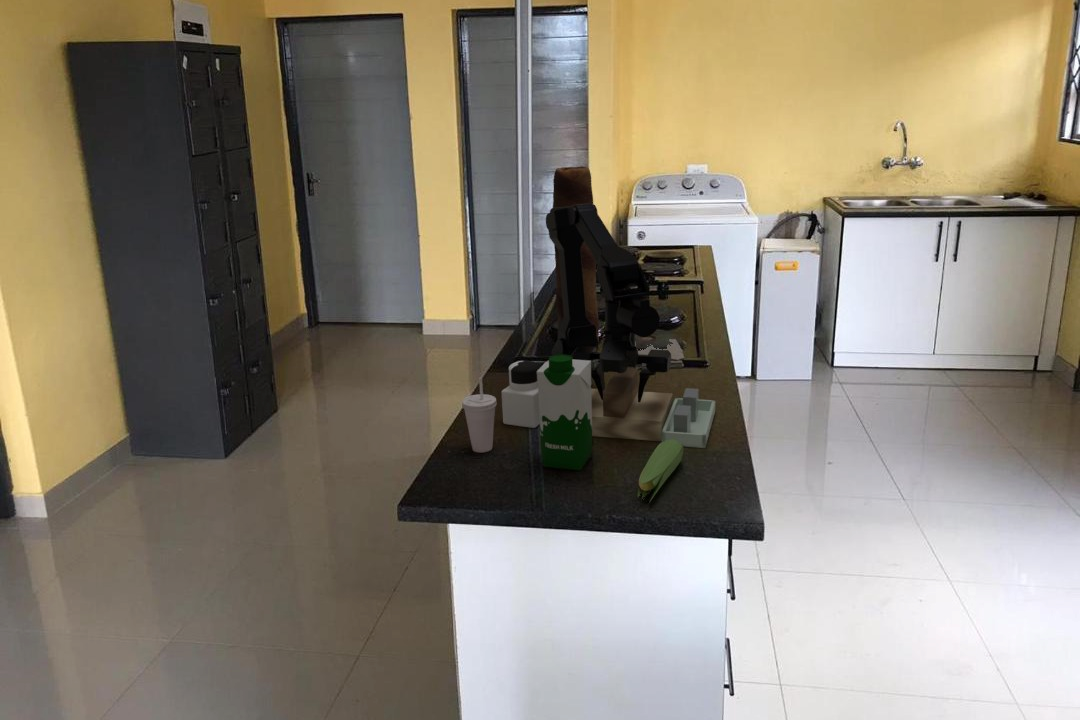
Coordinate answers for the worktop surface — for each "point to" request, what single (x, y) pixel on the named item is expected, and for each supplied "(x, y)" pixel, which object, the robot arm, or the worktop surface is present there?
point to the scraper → (620, 393)
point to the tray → (698, 428)
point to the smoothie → (480, 419)
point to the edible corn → (660, 467)
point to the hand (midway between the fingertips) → (621, 400)
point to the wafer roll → (570, 191)
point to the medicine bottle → (521, 395)
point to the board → (633, 417)
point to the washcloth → (673, 349)
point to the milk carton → (565, 412)
